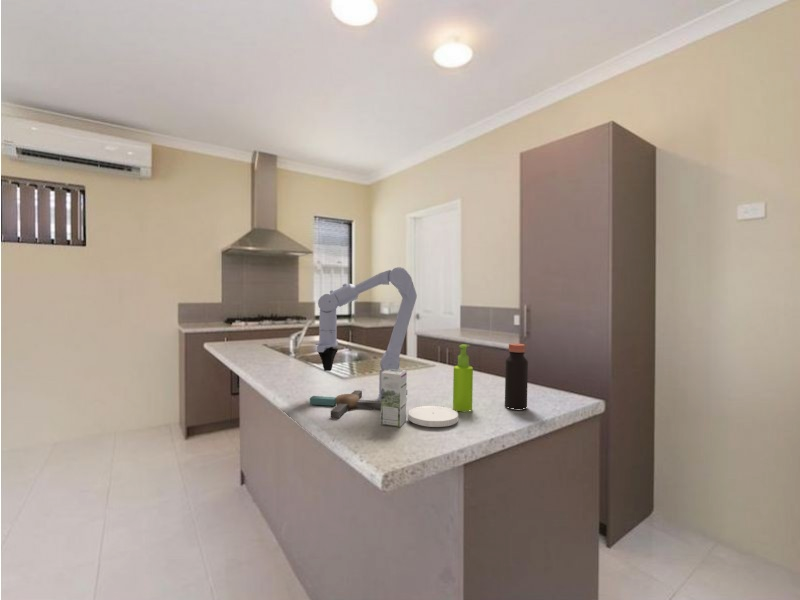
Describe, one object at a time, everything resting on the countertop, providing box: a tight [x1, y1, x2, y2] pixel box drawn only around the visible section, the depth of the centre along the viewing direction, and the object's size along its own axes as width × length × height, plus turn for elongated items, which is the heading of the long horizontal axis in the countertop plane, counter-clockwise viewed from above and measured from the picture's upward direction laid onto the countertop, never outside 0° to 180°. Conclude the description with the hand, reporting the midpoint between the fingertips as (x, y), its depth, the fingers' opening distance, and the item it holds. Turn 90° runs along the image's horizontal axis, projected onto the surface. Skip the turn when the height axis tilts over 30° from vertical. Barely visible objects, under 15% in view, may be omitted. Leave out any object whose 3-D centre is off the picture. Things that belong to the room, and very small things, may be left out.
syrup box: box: [380, 369, 408, 428], centre depth 108 cm, size 6×6×14 cm
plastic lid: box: [407, 405, 459, 428], centre depth 111 cm, size 14×14×2 cm
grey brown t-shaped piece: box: [330, 390, 381, 420], centre depth 123 cm, size 16×24×3 cm, turn 170°
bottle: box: [504, 343, 529, 409], centre depth 124 cm, size 7×7×20 cm
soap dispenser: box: [452, 343, 474, 412], centre depth 122 cm, size 6×7×20 cm
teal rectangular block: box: [309, 395, 337, 407], centre depth 125 cm, size 8×2×2 cm, turn 80°
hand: (327, 370), depth 132 cm, fingers closed
